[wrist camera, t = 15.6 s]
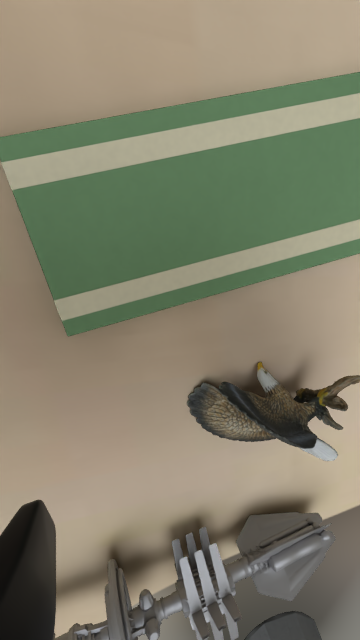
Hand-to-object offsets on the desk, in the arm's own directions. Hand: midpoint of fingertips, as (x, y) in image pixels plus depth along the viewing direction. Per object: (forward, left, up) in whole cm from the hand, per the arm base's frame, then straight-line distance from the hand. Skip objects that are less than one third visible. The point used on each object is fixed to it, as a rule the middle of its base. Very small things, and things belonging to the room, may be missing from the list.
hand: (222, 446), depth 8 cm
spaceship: (-8, -20, -12) cm, 24 cm away
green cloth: (+5, +5, -12) cm, 14 cm away
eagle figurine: (+6, -8, -12) cm, 15 cm away
